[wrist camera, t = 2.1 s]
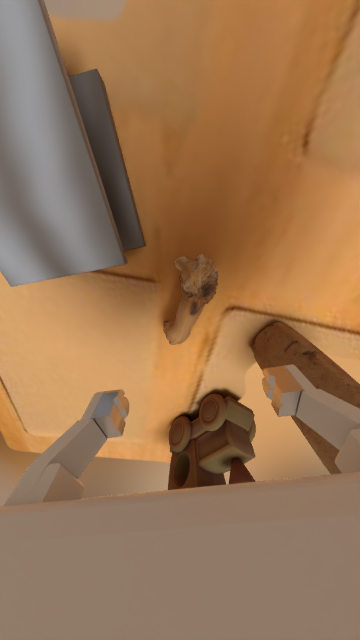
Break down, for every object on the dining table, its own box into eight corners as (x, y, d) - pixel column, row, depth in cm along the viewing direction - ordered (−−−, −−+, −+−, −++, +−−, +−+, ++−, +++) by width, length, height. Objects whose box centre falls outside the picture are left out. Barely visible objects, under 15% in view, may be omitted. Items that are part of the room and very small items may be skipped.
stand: (99, 65, 15) (34, -73, 8) (147, 253, 22) (134, 262, 15) (-38, 106, 16) (-197, 13, 9) (52, 272, 23) (2, 288, 16)
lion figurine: (177, 244, 22) (176, 251, 14) (215, 253, 22) (236, 264, 14) (160, 335, 28) (154, 374, 20) (190, 339, 29) (195, 380, 21)
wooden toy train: (195, 440, 45) (204, 540, 30) (162, 425, 41) (154, 530, 27) (253, 403, 38) (301, 512, 23) (219, 382, 34) (250, 494, 20)
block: (241, 342, 29) (338, 508, 12) (276, 312, 27) (470, 470, 9) (278, 369, 32) (397, 530, 15) (312, 345, 30) (508, 508, 12)
